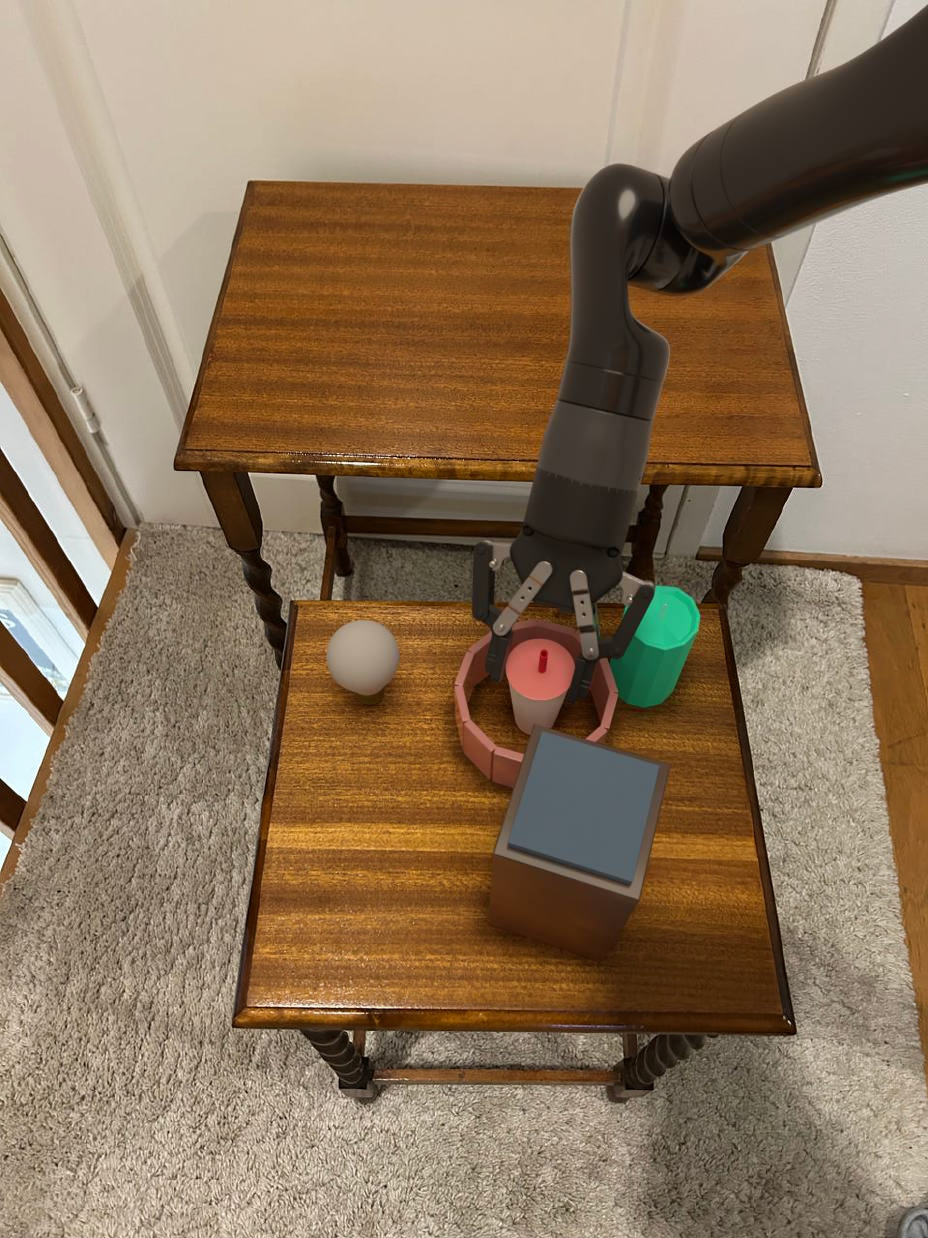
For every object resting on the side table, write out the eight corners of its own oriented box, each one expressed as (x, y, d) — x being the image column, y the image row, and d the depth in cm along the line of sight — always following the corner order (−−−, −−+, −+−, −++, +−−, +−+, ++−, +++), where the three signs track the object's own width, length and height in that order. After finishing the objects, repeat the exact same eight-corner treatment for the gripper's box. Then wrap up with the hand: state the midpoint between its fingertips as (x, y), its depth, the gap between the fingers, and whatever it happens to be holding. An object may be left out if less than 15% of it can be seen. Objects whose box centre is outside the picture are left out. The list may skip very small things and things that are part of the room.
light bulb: (391, 734, 80) (381, 680, 71) (326, 715, 81) (309, 659, 72) (414, 675, 82) (407, 617, 74) (352, 657, 83) (338, 597, 75)
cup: (557, 754, 78) (568, 689, 68) (495, 736, 79) (497, 670, 69) (573, 698, 81) (586, 628, 70) (513, 682, 82) (517, 610, 71)
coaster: (657, 770, 59) (660, 765, 58) (630, 885, 55) (632, 882, 54) (541, 735, 60) (542, 730, 59) (507, 846, 56) (507, 842, 56)
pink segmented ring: (621, 677, 82) (631, 644, 77) (585, 810, 76) (594, 783, 71) (483, 638, 84) (484, 603, 79) (437, 765, 78) (434, 735, 73)
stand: (629, 850, 74) (671, 763, 59) (602, 963, 70) (639, 901, 55) (520, 816, 76) (533, 723, 60) (487, 924, 71) (492, 853, 56)
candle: (686, 666, 83) (717, 593, 73) (658, 719, 80) (685, 651, 70) (624, 636, 84) (646, 560, 74) (595, 687, 82) (613, 616, 72)
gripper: (482, 452, 65) (432, 678, 69) (687, 502, 62) (622, 733, 67) (502, 448, 72) (456, 653, 76) (687, 492, 69) (628, 701, 74)
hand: (534, 689), depth 72 cm, fingers closed on cup, 5 cm apart
